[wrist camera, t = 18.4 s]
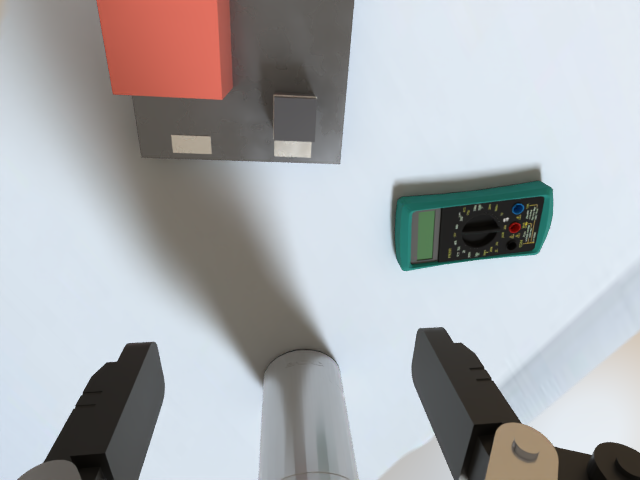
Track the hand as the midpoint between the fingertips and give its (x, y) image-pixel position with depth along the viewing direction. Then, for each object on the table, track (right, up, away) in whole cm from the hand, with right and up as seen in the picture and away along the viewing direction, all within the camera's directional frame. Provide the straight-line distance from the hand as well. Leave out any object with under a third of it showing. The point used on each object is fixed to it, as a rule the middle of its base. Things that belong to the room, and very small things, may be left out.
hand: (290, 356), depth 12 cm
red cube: (-9, +18, +15) cm, 25 cm away
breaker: (-1, +14, +18) cm, 23 cm away
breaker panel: (-5, +18, +18) cm, 26 cm away
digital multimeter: (+16, +6, +27) cm, 32 cm away
